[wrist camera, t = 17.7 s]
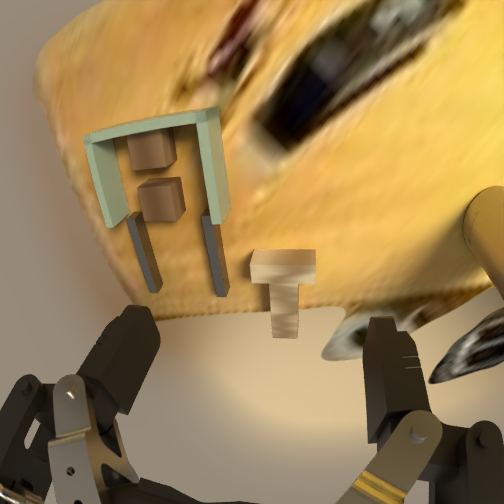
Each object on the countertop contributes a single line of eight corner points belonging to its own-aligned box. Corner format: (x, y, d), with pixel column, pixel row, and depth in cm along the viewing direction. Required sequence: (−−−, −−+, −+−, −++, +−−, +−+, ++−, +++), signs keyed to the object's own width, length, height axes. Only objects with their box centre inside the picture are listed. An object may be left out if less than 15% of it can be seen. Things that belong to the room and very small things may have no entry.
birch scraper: (315, 265, 31) (312, 338, 37) (315, 249, 34) (312, 321, 40) (249, 264, 32) (258, 337, 38) (254, 248, 35) (261, 320, 41)
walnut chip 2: (181, 176, 32) (170, 185, 29) (186, 209, 34) (176, 221, 31) (149, 178, 32) (137, 187, 30) (155, 210, 34) (144, 221, 32)
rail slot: (216, 207, 33) (211, 215, 31) (229, 287, 39) (226, 297, 37) (134, 211, 35) (126, 219, 33) (155, 283, 41) (149, 292, 39)
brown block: (172, 123, 28) (160, 128, 26) (177, 158, 31) (166, 166, 28) (140, 128, 29) (126, 134, 27) (146, 162, 31) (133, 170, 29)
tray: (218, 106, 27) (205, 110, 23) (230, 207, 33) (221, 224, 29) (103, 128, 29) (82, 136, 26) (123, 212, 35) (107, 227, 32)
